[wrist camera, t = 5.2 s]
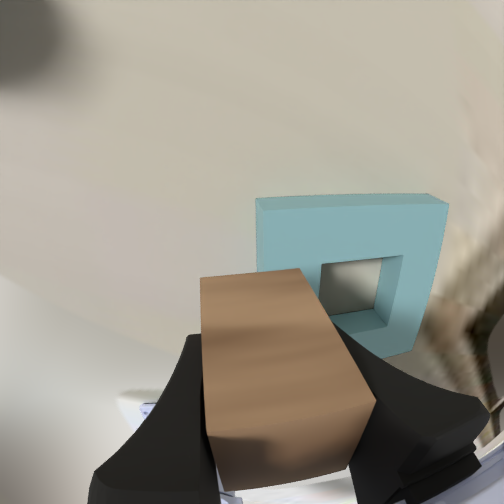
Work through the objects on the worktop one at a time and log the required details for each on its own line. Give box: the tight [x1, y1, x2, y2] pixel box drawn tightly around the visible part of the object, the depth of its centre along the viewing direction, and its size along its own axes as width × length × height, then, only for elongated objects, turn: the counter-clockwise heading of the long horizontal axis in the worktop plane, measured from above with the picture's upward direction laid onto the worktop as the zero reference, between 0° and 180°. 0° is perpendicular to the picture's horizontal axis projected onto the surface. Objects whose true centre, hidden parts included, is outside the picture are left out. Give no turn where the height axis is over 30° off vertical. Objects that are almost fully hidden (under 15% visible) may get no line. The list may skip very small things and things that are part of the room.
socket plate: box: [256, 194, 449, 359], centre depth 21 cm, size 13×13×2 cm
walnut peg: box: [200, 268, 376, 492], centre depth 10 cm, size 4×4×7 cm
